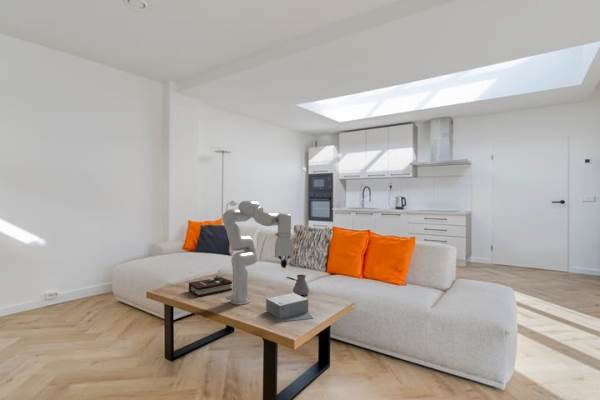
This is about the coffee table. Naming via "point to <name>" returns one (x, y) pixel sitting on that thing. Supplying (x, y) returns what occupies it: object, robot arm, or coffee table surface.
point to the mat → (295, 317)
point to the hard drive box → (286, 305)
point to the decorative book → (210, 286)
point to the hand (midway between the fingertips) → (283, 267)
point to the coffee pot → (300, 285)
